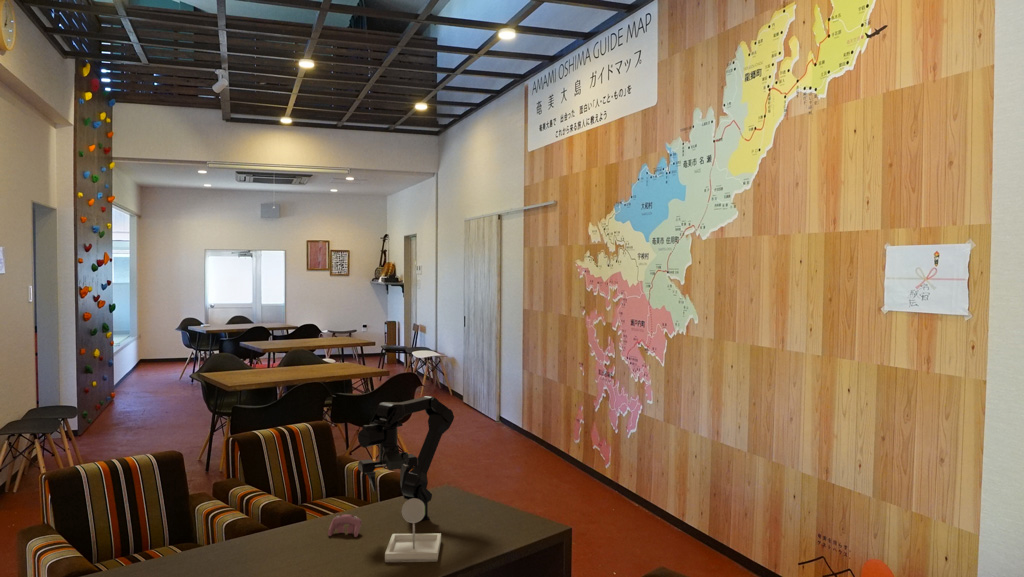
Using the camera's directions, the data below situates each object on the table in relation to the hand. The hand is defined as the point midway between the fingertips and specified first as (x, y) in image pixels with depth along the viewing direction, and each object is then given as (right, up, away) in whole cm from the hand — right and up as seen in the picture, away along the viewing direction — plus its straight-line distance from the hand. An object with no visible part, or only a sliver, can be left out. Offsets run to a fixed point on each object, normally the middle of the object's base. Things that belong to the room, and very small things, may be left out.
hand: (388, 489), depth 218 cm
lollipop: (+11, -13, -18) cm, 24 cm away
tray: (+11, -13, -18) cm, 25 cm away
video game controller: (-13, -13, -4) cm, 19 cm away
